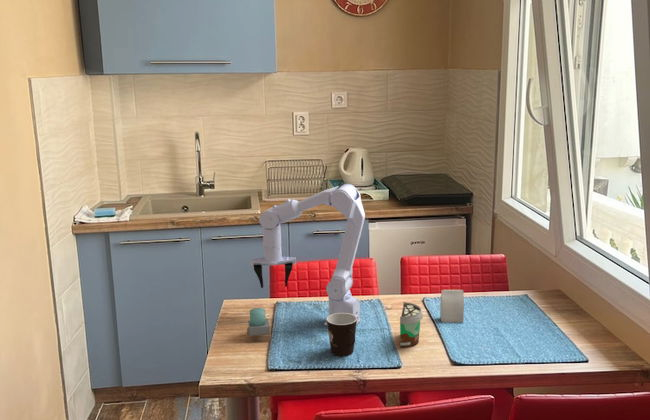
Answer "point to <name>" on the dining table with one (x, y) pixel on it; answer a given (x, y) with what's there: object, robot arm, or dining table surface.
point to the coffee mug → (342, 333)
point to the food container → (410, 325)
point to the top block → (259, 329)
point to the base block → (257, 337)
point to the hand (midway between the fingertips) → (274, 286)
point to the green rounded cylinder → (257, 317)
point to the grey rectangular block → (452, 306)
